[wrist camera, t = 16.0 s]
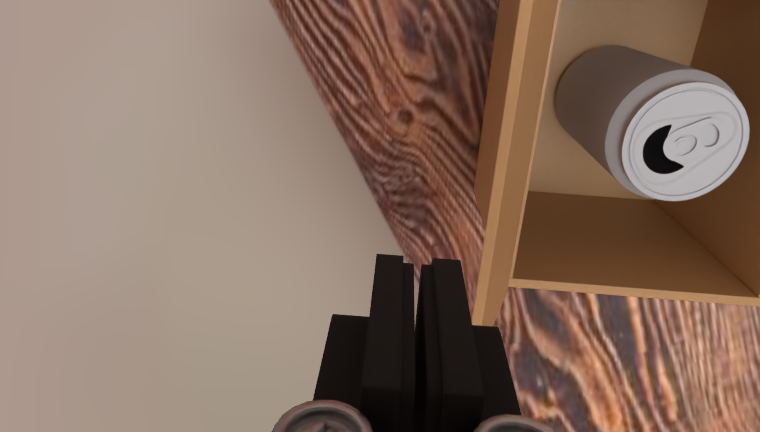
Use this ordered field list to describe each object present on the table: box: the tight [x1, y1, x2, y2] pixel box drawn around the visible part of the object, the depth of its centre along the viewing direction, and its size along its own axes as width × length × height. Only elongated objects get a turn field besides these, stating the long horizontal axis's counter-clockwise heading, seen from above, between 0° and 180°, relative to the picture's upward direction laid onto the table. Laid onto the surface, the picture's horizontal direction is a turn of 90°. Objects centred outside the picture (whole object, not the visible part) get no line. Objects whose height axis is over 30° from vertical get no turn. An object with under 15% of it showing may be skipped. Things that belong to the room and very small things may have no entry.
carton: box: [474, 0, 760, 307], centre depth 31 cm, size 13×15×14 cm
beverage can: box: [555, 45, 750, 201], centre depth 31 cm, size 6×6×12 cm
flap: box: [472, 0, 558, 326], centre depth 22 cm, size 6×15×1 cm
